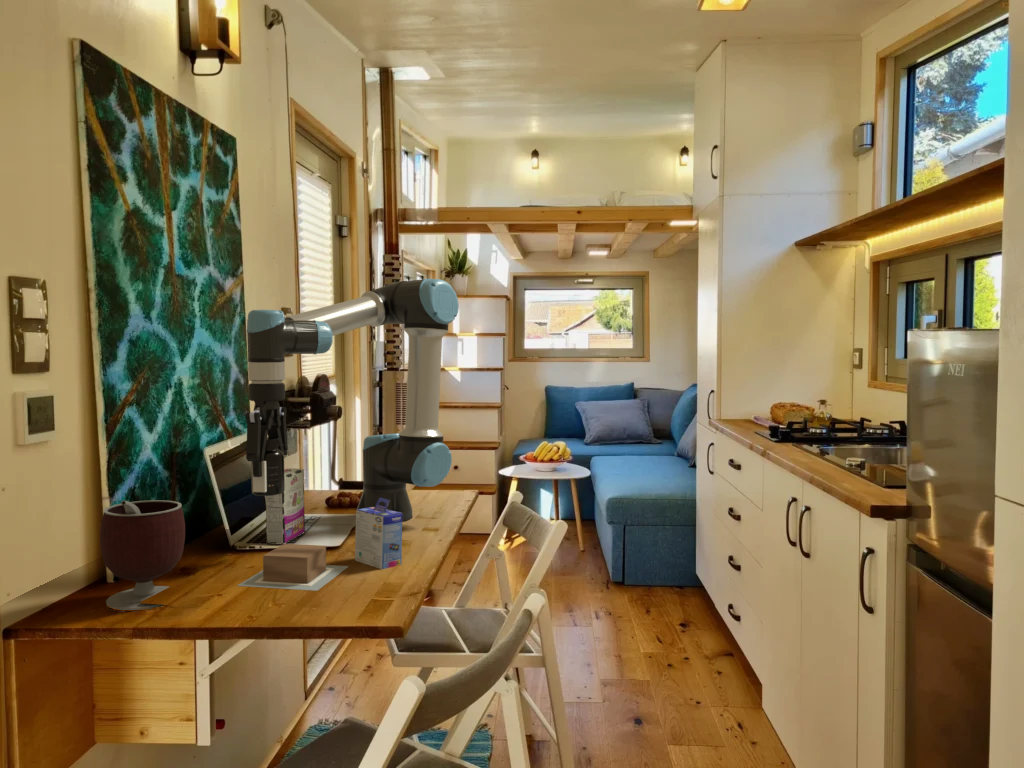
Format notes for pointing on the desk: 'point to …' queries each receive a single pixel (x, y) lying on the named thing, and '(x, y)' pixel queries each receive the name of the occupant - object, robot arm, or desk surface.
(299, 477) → the candy bar box
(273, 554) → the walnut block
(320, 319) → the robot arm
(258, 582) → the grey square plate
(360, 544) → the ink cartridge box
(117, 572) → the mate gourd
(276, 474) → the supplement bottle
